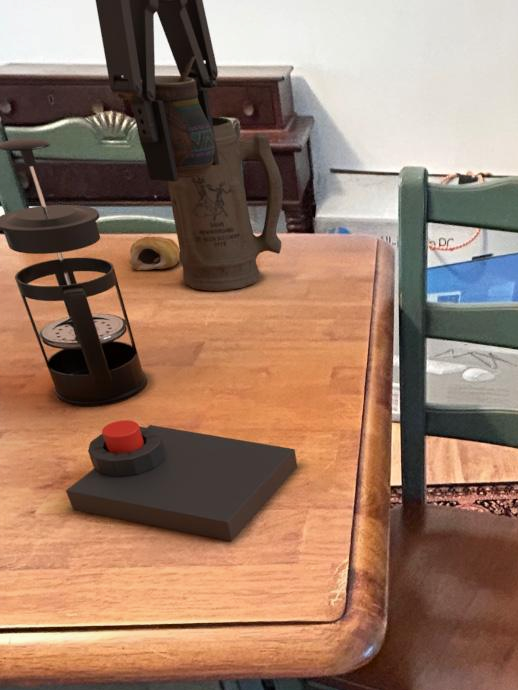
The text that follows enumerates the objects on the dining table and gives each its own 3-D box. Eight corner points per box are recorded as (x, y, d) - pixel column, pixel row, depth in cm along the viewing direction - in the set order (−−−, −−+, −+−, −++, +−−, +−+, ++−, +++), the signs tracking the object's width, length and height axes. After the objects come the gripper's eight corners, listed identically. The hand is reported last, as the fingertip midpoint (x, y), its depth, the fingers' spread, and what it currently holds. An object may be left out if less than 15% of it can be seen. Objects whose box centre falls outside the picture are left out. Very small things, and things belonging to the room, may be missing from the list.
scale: (63, 507, 62) (48, 471, 60) (146, 441, 71) (136, 407, 68) (231, 541, 59) (223, 504, 56) (297, 467, 67) (292, 432, 65)
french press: (49, 376, 81) (-40, 133, 66) (137, 360, 85) (71, 126, 70) (63, 421, 74) (-35, 158, 58) (159, 401, 77) (90, 148, 62)
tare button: (100, 452, 63) (94, 433, 62) (121, 435, 65) (116, 417, 64) (130, 457, 62) (124, 438, 61) (151, 440, 64) (146, 422, 63)
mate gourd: (171, 164, 78) (147, 47, 72) (235, 169, 77) (217, 51, 71) (132, 178, 73) (103, 54, 67) (201, 184, 72) (178, 58, 65)
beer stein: (185, 296, 101) (159, 124, 88) (173, 272, 108) (147, 111, 96) (295, 289, 106) (285, 127, 94) (276, 268, 114) (265, 114, 101)
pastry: (145, 252, 116) (139, 226, 113) (189, 252, 116) (183, 226, 114) (129, 271, 109) (122, 244, 106) (175, 271, 109) (169, 244, 107)
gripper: (84, -165, 52) (163, 197, 67) (226, -136, 66) (264, 155, 82) (-5, -163, 53) (92, 190, 68) (153, -136, 68) (204, 150, 83)
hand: (185, 171), depth 75 cm, fingers closed on mate gourd, 7 cm apart
